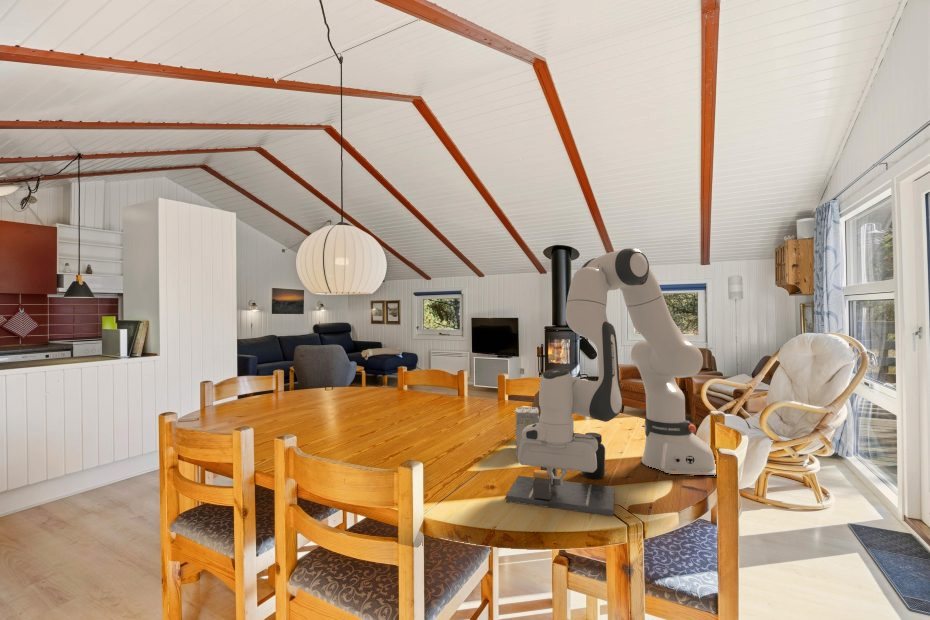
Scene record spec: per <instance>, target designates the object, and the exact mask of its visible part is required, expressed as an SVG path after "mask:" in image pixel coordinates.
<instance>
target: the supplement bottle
mask: <svg viewBox="0 0 930 620" xmlns="http://www.w3.org/2000/svg"><path fill="white" fill-rule="evenodd" d="M584 434H590V435H592V436H593V437H595V438H596V439H597V441H598V450H597V451H596V458H597V469H596V470H595V471H594V472H583V471H580V472H581V475H582V476H583V477H584V478H587V479H593V480H601V479H603V478H605V475H606V447H605V445H604V444H603V443H602V442H603V440H602V437H603V436H602V434H600V433H598V432H586V433H584ZM592 439H594V438H592Z"/></svg>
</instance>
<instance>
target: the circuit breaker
mask: <svg viewBox="0 0 930 620" xmlns="http://www.w3.org/2000/svg"><path fill="white" fill-rule="evenodd" d="M536 423H539V411H538V408H537V407H532V406H531V407H530V406H528V407H527V406H526V407H523V406H522V407H521V406H519V407H518V406H517V407H515V441H516V442H515V444H516V445H515V446H516V447H515V448H516V451H515V452H516V458H517V459H518V449H519V444H520V442H521V440H522V439H523V437H522V431H523V430H524V428H525V427H526V426H528V425H531V424H536Z"/></svg>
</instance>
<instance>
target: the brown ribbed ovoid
mask: <svg viewBox="0 0 930 620" xmlns="http://www.w3.org/2000/svg"><path fill="white" fill-rule="evenodd" d="M531 407H537V408H538V411H539V417H540V414H541V409H540V405H539V390H538V391H537V392H536V393H535V394H534V396H533V401H532V403H531Z"/></svg>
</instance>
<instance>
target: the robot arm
mask: <svg viewBox="0 0 930 620" xmlns="http://www.w3.org/2000/svg"><path fill="white" fill-rule="evenodd" d="M571 279H572V280H571V282H570V285H569V290H568V294H567V298H566V299H567V300H566V304H565V321H566V324H567V325H568V327H569V328H570V330H572V331H573V332H574V333H575V334H577V335H578V336H581V337H583V338H585V339H587V340H589V341H590V342H592V344H594V345H595V348H596V350H597V361H598V362H597V364H598V365H597V366H598V380H587V379H581V378H577V377H574V376H572V374H571V372H570V370H569V369H565V368H551V369H547V370H545V371H544V372H542V374H541V375H540V381H539V390H538V391H539V405H540V409H541V414H540V417H539V423H536V424H531V425H528V426H526V427H525V428H524V430H523V431H522V437H523V439H522V440H521V442H520V444H519V449H518V458H517V462H518V463H519V464H520V465H521V466H529V467H538V468H541V467H546V468H547V473H548V475H549V476H550V478H551V485H559V486H562V485H563V481H564V479H565V476H566V474H567V472H568V471H575V472H576V471H577V472H581V471H583V472H594V471H595V470H596V469H597V458H596V451H597V450H598V441H597V439H596V438H595V437H593V436H592V435H590V434H585V433H584V434H583V433H578V432H577V433H576V432H575V431H574V427H575V426H574V417H573V415H576V416H582V417H586V418H587V417H588V418H591V419H593V420H597V421H600V422H604V423H607V422H610V421H612V420H614V418H616V417H617V416H619V414H620V413H621V412H622V409H623V395H622V391H621V385H620V374H619V373H620V372H619V356H618V342H617V334H616V330H615V329H616V328H615V327H614V325H613V324H612V323H610V321H609V320H608V318H607V305H608V304H607V303H608V293H609V291H615V290H619V289H620V291H621V292H622V296H623V299H624V303H625V306H626V308H627V311H628V314H629V317H630V320H631V322H632V325H633V327H634V329H635V330H636V332H638V333H639V334H640V335H641V336H642V337H643V338H644V339H642V340H639V341H637V342H636V343H635V344H634V345H633V346H632V348H631V352H630V357H631V361H632V363H633V364H634V365H635V367H636V368H637V370H638V373H639V374H640V377H641V381H642V383H643V388H644V392H645V404H646V405H645V406H646V407H645V411H646V415H645V418H644V434H645V442H644V450H643V454H642V457H641V463H642V464H643V465H645V466H646V467H648V466H649V468H650V467H652V468H651V469H653V468H656V469H659V470H661V471H664V472H666V473H682V474H705V475H714V476H713V477H716V476H715V475H716V464H715V461H716V460H715V457H714V453H713V450H712V448H711V447H710V445H709V444H707V443H706V442H705V441H704V440H702V439H701V438H700V437H698V436H697V435H696V434H695V432H696V431H697V427H696V425H694V424H693V423H692V422H691V421H689V420H687V419H686V397H685V394H684V392H683V391H682V389H681V388H680V387H679V386H678V384H677V381H676V379H675V378H677V379H678V378H679V379H680V378H682V379H683V378H691V377H695V376H696V375H697V374H698V373H700V371H701V369H702V368H703V365H704V357H703V353H702V352H701V350H700V348H699V347H697V346H696V345H695V344H693V343H692V342H691V341H689V340H688V339H687V337H686V336H685V335H684V333H683V332H682V331H681V329H680V328H679V327H678V326H677V324H676V322H675V321H674V319H673V317H672V315H671V313H670V309H669V308H668V305H667V302H666V300H665V296H664V293H663V291H662V288H661V287H660V284H659V281H658V280H657V278H656V276H655V274H654V272H653V271H652V269H651V268H650V263H649V261H648V258H647V256H646V255H645V254H644V253H643V252H642V251H641V250H640V249H637V248H623V249H621V250H616V251H615V250H614V251H610V252H607V253H605V254H602V255H600V256H598V257H595V258H591V259H589V260H587V261H586V262H585V263H583V265H582V267H581V268H579V269H577V270H576V271H575V272H574V274H573V277H572V278H571ZM592 438H594V439H592ZM553 468H555V469H557V470H560V473H561V475H560V476H558V475H557V476H554V474H553V472H552V470H553ZM656 469H655V470H656ZM659 470H658V471H659ZM661 471H660V472H661Z"/></svg>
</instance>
